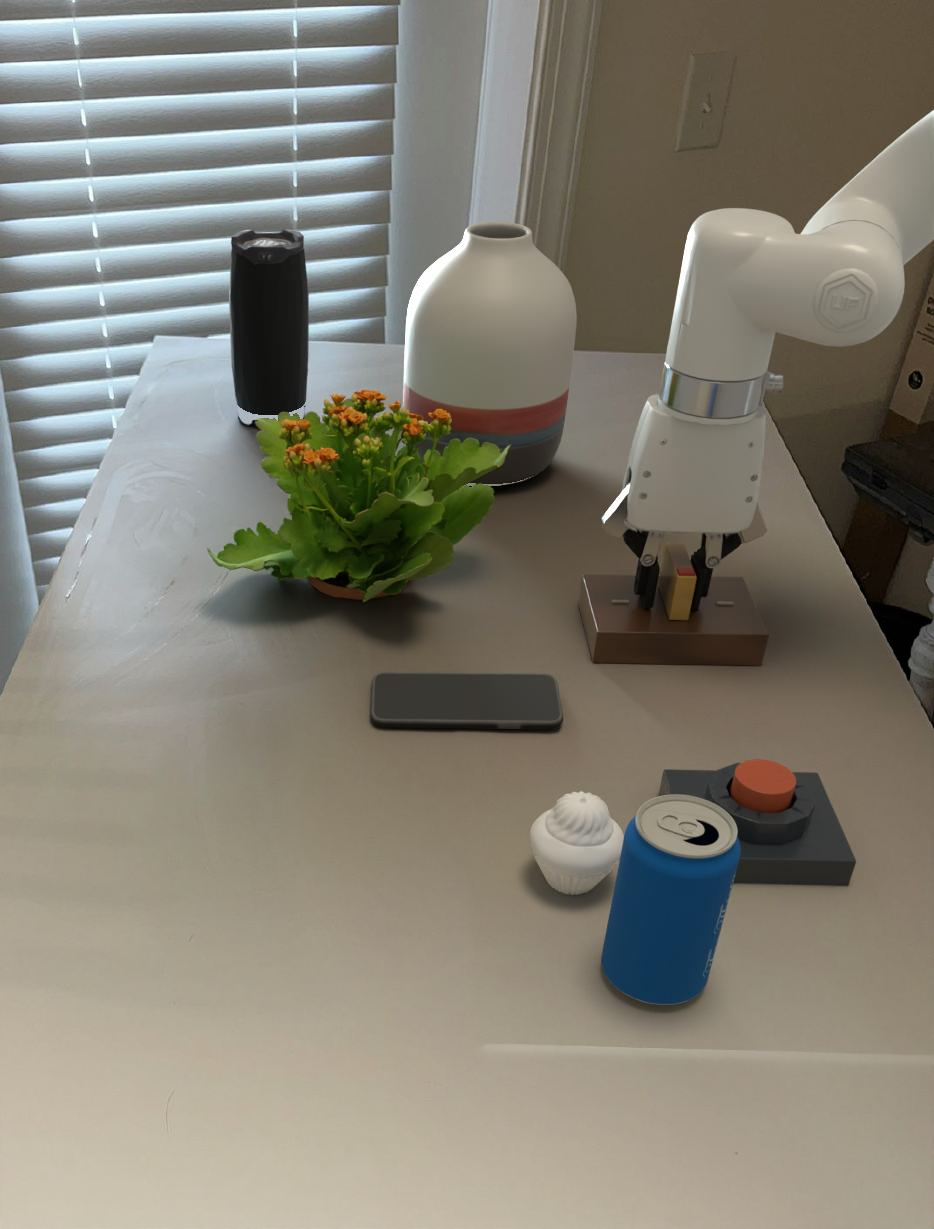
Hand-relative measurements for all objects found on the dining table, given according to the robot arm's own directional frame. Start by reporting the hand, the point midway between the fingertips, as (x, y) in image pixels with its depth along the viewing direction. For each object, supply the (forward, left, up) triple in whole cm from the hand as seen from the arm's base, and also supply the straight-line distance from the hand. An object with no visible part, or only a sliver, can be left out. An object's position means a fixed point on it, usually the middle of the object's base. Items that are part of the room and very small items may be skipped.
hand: (668, 600), depth 113 cm
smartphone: (+18, +12, -3) cm, 22 cm away
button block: (-1, +28, -3) cm, 28 cm away
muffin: (+12, +33, -3) cm, 35 cm away
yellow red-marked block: (0, 0, 0) cm, 0 cm away
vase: (+14, -35, -3) cm, 38 cm away
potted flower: (+26, -10, -3) cm, 28 cm away
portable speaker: (+37, -48, -3) cm, 60 cm away
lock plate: (0, 0, -3) cm, 3 cm away
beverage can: (+8, +42, -3) cm, 43 cm away
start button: (-1, +28, 0) cm, 28 cm away
